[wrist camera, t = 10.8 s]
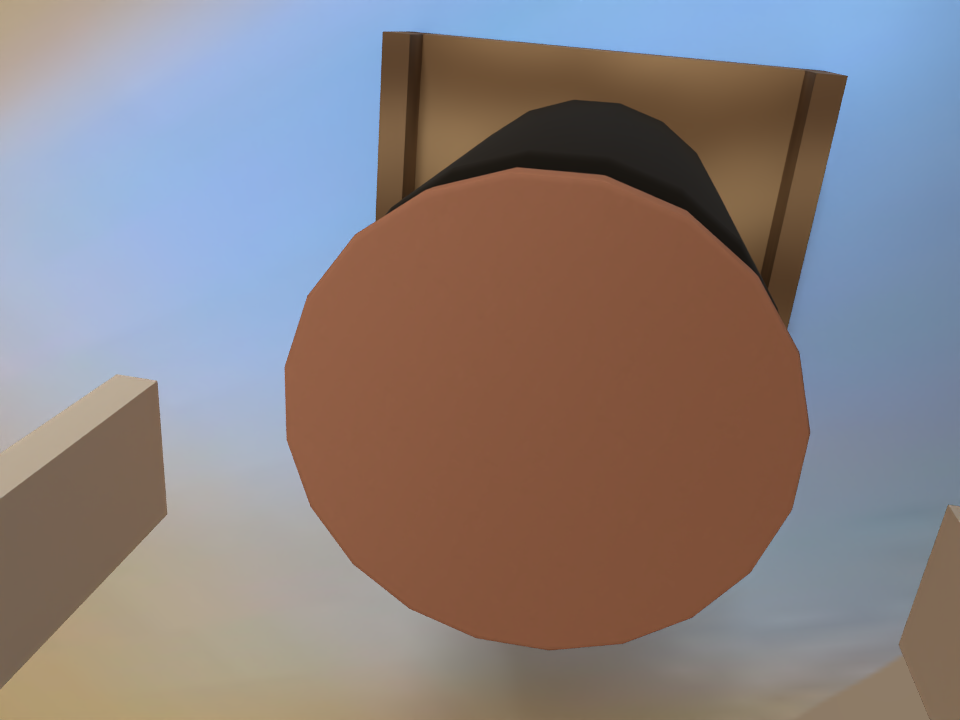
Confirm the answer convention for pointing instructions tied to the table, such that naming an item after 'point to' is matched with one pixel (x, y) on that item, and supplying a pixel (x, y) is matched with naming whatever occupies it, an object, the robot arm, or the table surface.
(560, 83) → the brown shallow square tray
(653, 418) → the coffee jar
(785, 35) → the table surface
